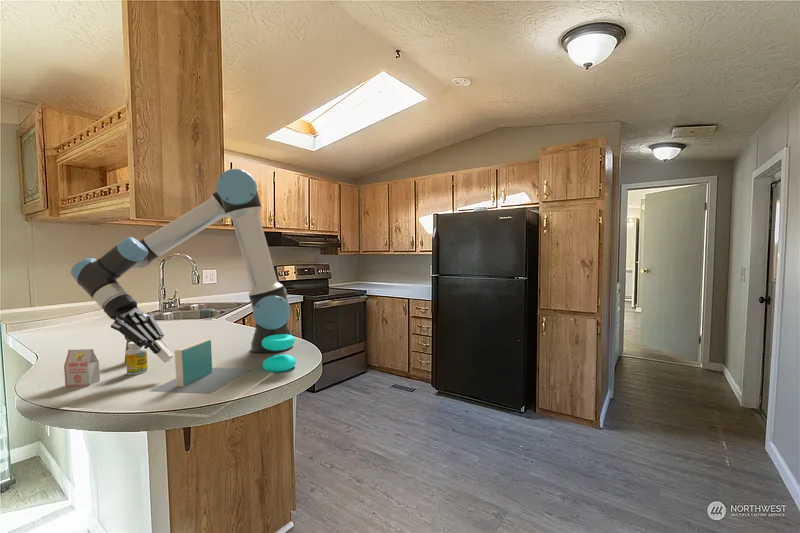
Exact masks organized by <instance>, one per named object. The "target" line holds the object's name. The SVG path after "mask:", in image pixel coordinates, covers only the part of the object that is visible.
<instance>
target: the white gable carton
mask: <svg viewBox="0 0 800 533" xmlns="http://www.w3.org/2000/svg"><path fill="white" fill-rule="evenodd" d="M99 362H100V361H99V359H98V358H97V356H96V354H95V352H94V349H92V348H91V349H89V348H88V349H87V348H86V349H84V348H83V349H78V348H77V349H68V350H67V356H66V358H65V362H64V365H63V368H64V370H63V371H64V385H65V387H90V386H92V384H93V385H95V384H97V383H99V381H101V378H100V363H99ZM94 383H95V384H94Z"/></svg>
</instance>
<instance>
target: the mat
mask: <svg viewBox="0 0 800 533" xmlns="http://www.w3.org/2000/svg"><path fill="white" fill-rule="evenodd" d="M251 370H253V368H241V367H240V368H239V367H237V368H235V367H212V372H211V373H209V374H207V375H205V376H203V377H201V378H199V379H197V380H195V381H193V382H191V383H189V384H187V385H185V386H177V385H176V378H174V379H171V380H170V381H166V382H165V383H163V384H161V385H159V386H156V387H154V388H152V389H150V390H149V392H156V393H157V392H158V393H159V392H160V393H182V394H203V395H204V394H205V395H207V394H208V395H211V394H212V393H214V392H216V391H218V390H219V389H221V388H223V387H224V386H226V385H228V384H230V383H231V382H233V381H234V380H236V379H238V378H240V377H241V376H243V375H245V374H246V373H248V372H250V371H251Z"/></svg>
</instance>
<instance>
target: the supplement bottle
mask: <svg viewBox="0 0 800 533" xmlns="http://www.w3.org/2000/svg"><path fill="white" fill-rule="evenodd" d="M140 342H141V341H140ZM144 347H145V346H142V347H139V346H138V345H136V344H135V343H134V342H129V343H128V348H129V349H128V350H127V351H126V350H125V353H126V364H125V365H126V374H127V375H129V376H135V375H136V376H137V375H140V374H144V373H146V372H148V369H149V368H148V351H147V349H148V348H147V349H145V348H144Z"/></svg>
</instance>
